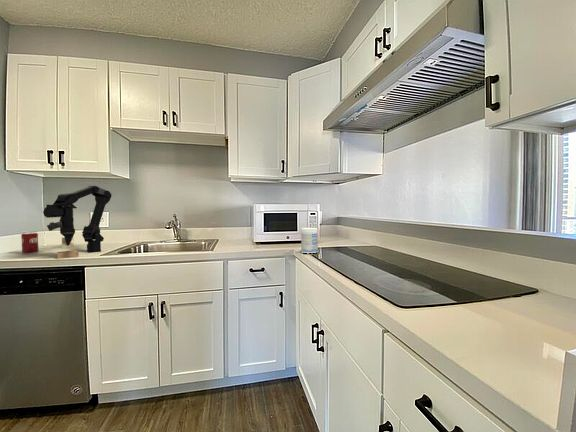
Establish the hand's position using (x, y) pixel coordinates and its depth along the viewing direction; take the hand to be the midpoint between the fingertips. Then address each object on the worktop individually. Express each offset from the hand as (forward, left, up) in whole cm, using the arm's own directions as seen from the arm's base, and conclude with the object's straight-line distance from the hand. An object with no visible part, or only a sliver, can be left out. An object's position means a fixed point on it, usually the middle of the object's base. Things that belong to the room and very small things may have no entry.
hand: (67, 244), depth 154 cm
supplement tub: (-109, +80, -7) cm, 135 cm away
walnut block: (0, 0, -7) cm, 7 cm away
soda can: (+17, -29, -7) cm, 34 cm away
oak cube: (0, 0, -1) cm, 1 cm away
